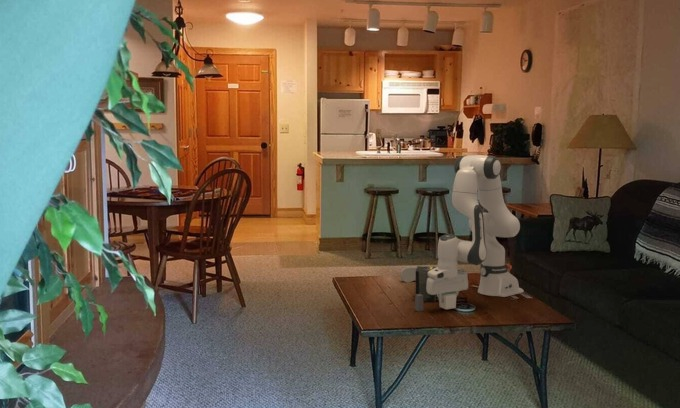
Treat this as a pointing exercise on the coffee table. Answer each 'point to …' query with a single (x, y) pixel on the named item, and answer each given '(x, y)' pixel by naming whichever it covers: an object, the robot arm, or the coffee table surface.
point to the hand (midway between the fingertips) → (447, 301)
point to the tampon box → (423, 283)
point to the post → (419, 302)
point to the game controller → (409, 273)
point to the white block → (448, 300)
